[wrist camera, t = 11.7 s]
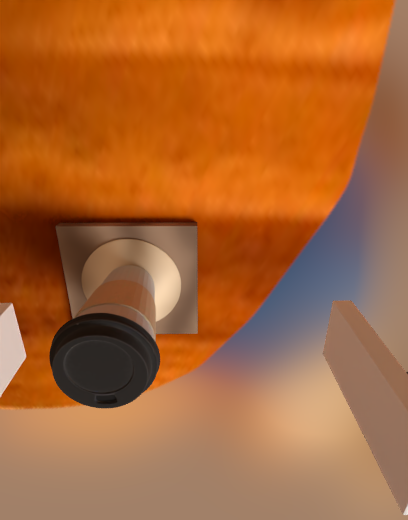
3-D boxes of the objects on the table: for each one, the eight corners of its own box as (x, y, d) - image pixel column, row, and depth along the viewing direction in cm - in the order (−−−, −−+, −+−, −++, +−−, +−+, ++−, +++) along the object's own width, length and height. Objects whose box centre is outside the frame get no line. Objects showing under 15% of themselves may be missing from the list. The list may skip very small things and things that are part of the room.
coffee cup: (121, 328, 45) (89, 429, 31) (75, 272, 41) (17, 358, 28) (184, 297, 43) (179, 389, 30) (141, 235, 40) (113, 308, 26)
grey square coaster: (78, 329, 47) (74, 336, 45) (59, 222, 40) (54, 227, 39) (197, 328, 47) (197, 334, 46) (197, 222, 41) (197, 226, 39)
